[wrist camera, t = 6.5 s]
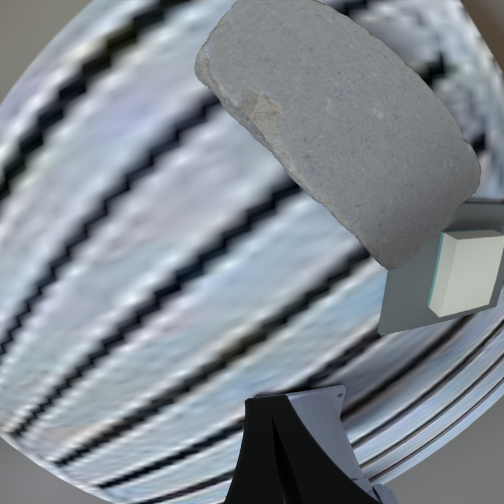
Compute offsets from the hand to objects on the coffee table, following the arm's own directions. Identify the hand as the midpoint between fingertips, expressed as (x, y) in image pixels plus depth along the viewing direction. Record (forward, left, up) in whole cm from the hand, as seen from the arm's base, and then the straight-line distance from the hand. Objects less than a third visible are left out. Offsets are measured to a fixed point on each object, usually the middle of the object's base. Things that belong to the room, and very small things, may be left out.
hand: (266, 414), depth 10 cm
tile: (0, -14, -9) cm, 17 cm away
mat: (0, -17, -10) cm, 20 cm away
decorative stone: (+9, -5, -11) cm, 15 cm away
